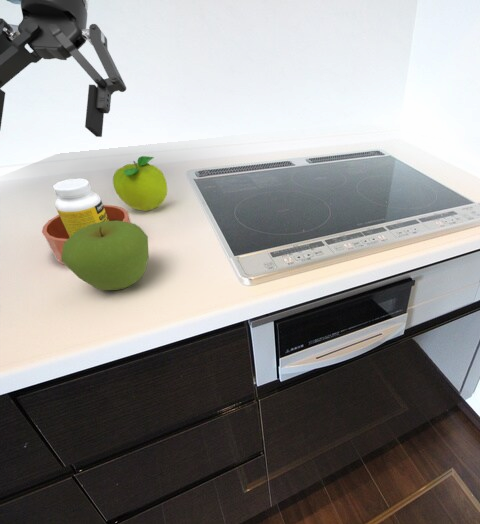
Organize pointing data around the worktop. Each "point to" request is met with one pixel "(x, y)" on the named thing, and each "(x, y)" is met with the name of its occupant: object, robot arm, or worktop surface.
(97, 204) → the pill bottle
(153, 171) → the fruit
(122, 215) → the bowl
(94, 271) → the apple
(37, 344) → the worktop surface
